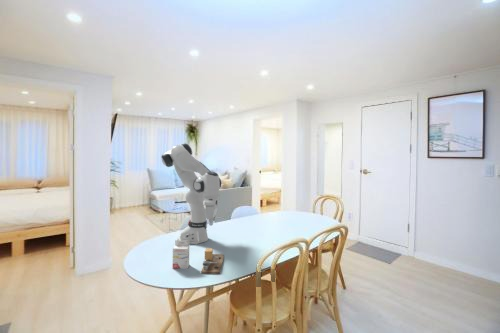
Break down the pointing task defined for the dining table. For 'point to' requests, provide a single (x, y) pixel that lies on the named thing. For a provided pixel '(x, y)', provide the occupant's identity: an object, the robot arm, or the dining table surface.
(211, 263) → the board
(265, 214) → the dining table surface
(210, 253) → the slider
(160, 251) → the dining table surface
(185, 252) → the ink cartridge box
